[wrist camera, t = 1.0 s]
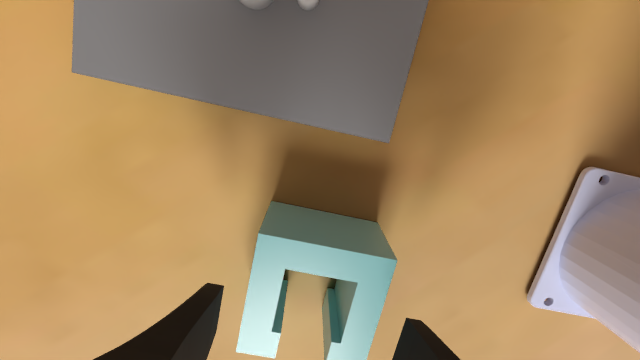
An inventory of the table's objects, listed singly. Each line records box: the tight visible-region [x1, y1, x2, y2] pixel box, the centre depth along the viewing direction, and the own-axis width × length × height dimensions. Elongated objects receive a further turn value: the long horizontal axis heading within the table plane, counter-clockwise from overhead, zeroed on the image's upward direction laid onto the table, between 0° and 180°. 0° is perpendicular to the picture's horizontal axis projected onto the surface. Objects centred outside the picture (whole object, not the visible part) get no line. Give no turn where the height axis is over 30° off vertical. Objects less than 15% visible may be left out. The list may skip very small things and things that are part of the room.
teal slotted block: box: [236, 201, 397, 360], centre depth 15 cm, size 6×6×4 cm
